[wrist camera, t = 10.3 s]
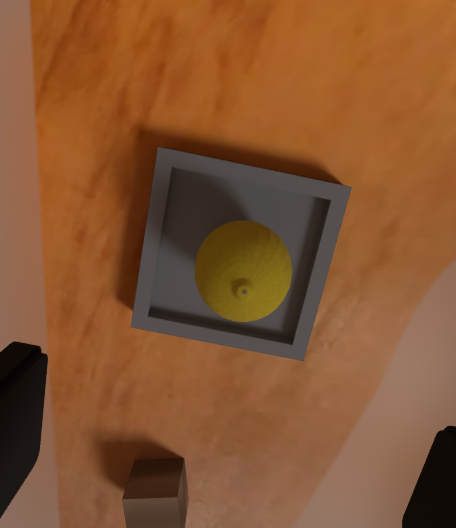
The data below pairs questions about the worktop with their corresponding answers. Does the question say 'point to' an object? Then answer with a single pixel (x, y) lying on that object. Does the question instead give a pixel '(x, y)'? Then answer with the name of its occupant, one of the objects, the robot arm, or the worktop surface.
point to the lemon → (243, 271)
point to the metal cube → (156, 494)
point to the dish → (221, 212)
